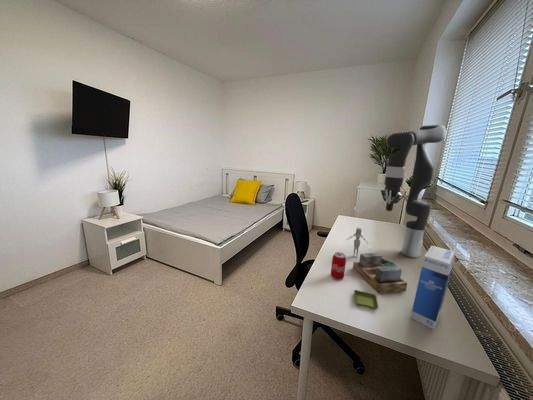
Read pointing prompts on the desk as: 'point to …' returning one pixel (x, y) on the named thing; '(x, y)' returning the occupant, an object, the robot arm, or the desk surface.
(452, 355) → the desk surface
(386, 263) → the digital multimeter
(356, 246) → the human figurine
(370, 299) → the saucer
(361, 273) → the rack
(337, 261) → the beverage can
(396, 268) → the rectangular block
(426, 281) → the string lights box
